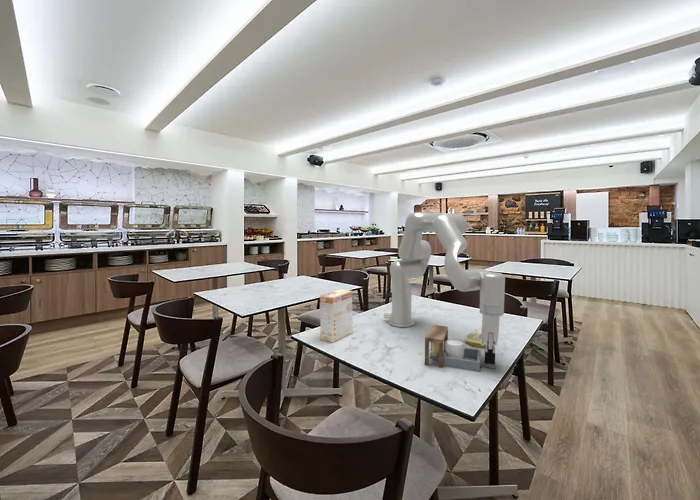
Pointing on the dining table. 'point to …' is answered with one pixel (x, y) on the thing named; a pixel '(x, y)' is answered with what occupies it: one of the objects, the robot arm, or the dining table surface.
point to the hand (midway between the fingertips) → (489, 360)
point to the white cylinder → (455, 348)
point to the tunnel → (439, 336)
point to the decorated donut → (475, 340)
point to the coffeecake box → (336, 315)
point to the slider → (461, 362)
